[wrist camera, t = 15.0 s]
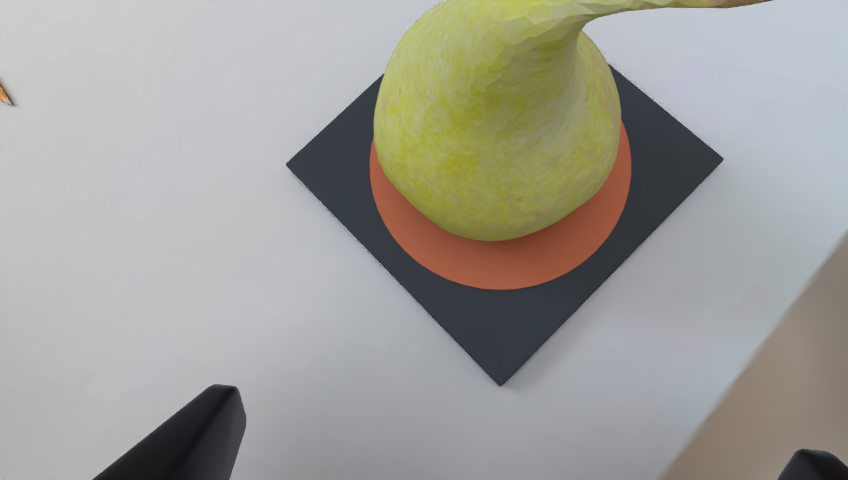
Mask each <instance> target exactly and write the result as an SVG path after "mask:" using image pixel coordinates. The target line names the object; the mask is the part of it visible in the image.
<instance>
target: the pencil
mask: <svg viewBox="0 0 848 480" xmlns="http://www.w3.org/2000/svg"><path fill="white" fill-rule="evenodd" d="M0 100H1V101H3V102H4V103H7V104H9V105H11V103H10V101H9V99H8V97H7V96H6V94H5V93H4V91H3V89H2V88H1V86H0Z"/></svg>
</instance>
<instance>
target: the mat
mask: <svg viewBox="0 0 848 480" xmlns="http://www.w3.org/2000/svg"><path fill="white" fill-rule="evenodd" d="M608 66H609V68H610V70H611V72H612V75H613V78H614V81H615V84H616V87H617V91H618V94H619V100H620V107H621V129H620V137H619V146H618V151H617V156H616V160H615V162H614V165H613V167H612V170H611V172H610V174H609V176H608V178H607V179H606V181H605V182H604V184H603V185H602V187H601V188H600V189H599V190H598V192H597V193H596V194H595V195H594V196H593V197H591V198H590V199H589V200H588V201H587V202H585V203H584V204H582V205H581V206H580V207H578V208H577V209H575V210H574V211H572V212H571V213H569V214H568V215H567V216H565V217H564V218H562V219H561V220H559V221H558V222H556V223H554V224H552V225H550V226H548V227H545V228H543V229H541V230H539V231H536V232H533V233H531V234H528V235H525V236H522V237H518V238H514V239H509V240H502V241H481V240H474V239H469V238H464V237H461V236H458V235H455V234H453V233H450V232H448V231H446V230H444V229H443V228H441V227H440V226H438V225H437V224H435V223H434V222H433V221H431V220H430V219H429V218H427V217H426V216H425V215H424V214H422V213H421V212H420V211H419V210H418V209H416V208H415V207H414V206H413V205H412V204H411V203H410V202H409V201H408V200H407V199H406V198H405V197H404V196H403V195H402V194H401V193H400V192H399V191H398V190H397V189H396V187H395V186H394V185H393V184H392V183H391V182H390V181H389V179H388V178H387V177H386V175H385V173H384V171H383V169H382V167H381V165H380V163H379V160H378V156H377V152H376V149H375V143H374V114H375V108H376V103H377V98H378V94H379V90H380V86H381V82H382V79H383V76H384V74H383V75H382V76H381V77H379V78H378V79H377V80H376V81H375V82H374V83H373V84H372V85H371V86H370V87H369V88H368V89H366V90H365V91H364V92H363V93H362V94H361V95H360V96H359V97H358V98H357V99H356V100H355V101H353V102H352V103H351V104H350V105H349V106H348V107H347V108H346V109H345V110H344V111H343V112H342V113H340V114H339V115H338V116H337V117H336V118H335V119H334V120H333V121H332V122H331V123H330V124H329V125H327V126H326V127H325V128H324V129H323V130H322V131H321V132H320V133H319V134H318V135H317V136H316V137H315V138H313V139H312V140H311V141H310V142H309V143H308V144H307V145H306V146H305V147H304V148H303V149H302V150H300V151H299V152H298V153H297V154H296V155H295V156H294V157H293V158H292V159H291V160H290V161H289V162H287V164H286V165H287V167H288V168H289V169H290V170H291V171H292V172H293V173H294V174H295V175H296V176H297V177H298V178H299V179H300V180H301V181H302V182H303V183H304V184H305V185H306V186H307V187H308V188H309V190H310V191H311V192H312V193H313V194H314V195H315V196H316V197H317V198H318V199H319V200H320V201H321V202H322V203H323V204H324V205H325V206H326V207H327V208H328V209H329V210H330V211H331V212H332V213H333V214H334V215H335V216H336V217H337V218H338V220H339V221H340V222H341V223H342V224H343V225H344V226H345V227H346V228H347V229H348V230H349V231H350V232H351V233H352V234H353V235H354V236H355V237H356V238H357V239H358V240H359V241H360V242H361V243H362V244H363V245H364V246H365V247H366V248H367V250H368V251H369V252H370V253H371V254H372V255H373V256H374V257H375V258H376V259H377V260H378V261H379V262H380V263H381V264H382V265H383V266H384V267H385V268H386V269H387V270H388V271H389V272H390V273H391V274H392V275H393V276H394V277H395V278H396V280H397V281H398V282H399V283H400V284H401V285H402V286H403V287H404V288H405V289H406V290H407V291H408V292H409V293H410V294H411V295H412V296H413V297H414V298H415V299H416V300H417V301H418V302H419V303H420V304H421V305H422V306H423V307H424V308H425V310H426V311H427V312H428V313H429V314H430V315H431V316H432V317H433V318H434V319H435V320H436V321H437V322H438V323H439V324H440V325H441V326H442V327H443V328H444V329H445V330H446V331H447V332H448V333H449V334H450V335H451V336H452V337H453V338H454V340H455V341H456V342H457V343H458V344H459V345H460V346H461V347H462V348H463V349H464V350H465V351H466V352H467V353H468V354H469V355H470V356H471V357H472V358H473V359H474V360H475V361H476V362H477V363H478V364H479V365H480V366H481V367H482V368H483V370H484V371H485V372H486V373H487V374H488V375H489V376H490V377H491V378H492V379H493V380H494V381H495V382H496V383H497V384H498V385H499V386H502V385H503V384H504V383H505V382H506V381H507V380H508V379H509V378H510V377H511V376H512V375H513V374H514V373H515V372H516V371H517V370H518V369H519V368H520V367H521V366H522V365H523V364H524V363H525V362H526V361H527V360H528V359H529V358H530V357H531V356H532V355H533V354H534V353H535V352H536V351H537V350H538V349H539V348H540V347H541V345H542V344H543V343H544V342H545V341H546V340H547V339H548V338H549V337H550V336H551V335H552V334H553V333H554V332H555V331H556V330H557V329H558V328H559V327H560V326H561V325H562V324H563V323H564V322H565V321H566V320H567V319H568V318H569V317H570V316H571V315H572V314H573V313H574V312H575V311H576V310H577V309H578V308H579V307H580V306H581V305H582V304H583V303H584V302H585V301H586V300H587V299H588V298H589V297H590V296H591V295H592V294H593V292H594V291H595V290H596V289H597V288H598V287H599V286H600V285H601V284H602V283H603V282H604V281H605V280H606V279H607V278H608V277H609V276H610V275H611V274H612V273H613V272H614V271H615V270H616V269H617V268H618V267H619V266H620V265H621V264H622V263H623V262H624V261H625V260H626V259H627V258H628V257H629V256H630V255H631V254H632V253H633V252H634V251H635V250H636V249H637V248H638V247H639V246H640V245H641V244H642V243H643V242H644V240H645V239H646V238H647V237H648V236H649V235H650V234H651V233H652V232H653V231H654V230H655V229H656V228H657V227H658V226H659V225H660V224H661V223H662V222H663V221H664V220H665V219H666V218H667V217H668V216H669V215H670V214H671V213H672V212H673V211H674V210H675V209H676V208H677V207H678V206H679V205H680V204H681V203H682V202H683V201H684V200H685V199H686V198H687V197H688V196H689V195H690V194H691V193H692V192H693V191H694V190H695V189H696V187H697V186H698V185H699V184H700V183H701V182H702V181H703V180H704V179H705V178H706V177H707V176H708V175H709V174H710V173H711V172H712V171H713V170H714V169H715V168H716V167H717V166H718V165H719V164H720V163H721V162H722V161H723V158H722V157H721V156H720V155H719V154H718V153H716V152H715V151H714V150H713V149H711V148H710V147H709V146H708V145H707V144H705V143H704V142H703V141H702V140H701V139H699V138H698V137H697V136H696V135H694V134H693V133H692V132H691V131H690V130H688V129H687V128H686V127H685V126H683V125H682V124H681V123H680V122H679V121H677V120H676V119H675V118H674V117H673V116H671V115H670V114H669V113H668V112H666V111H665V110H664V109H663V108H662V107H660V106H659V105H658V104H657V103H656V102H654V101H653V100H652V99H651V98H649V97H648V96H647V95H646V94H645V93H643V92H642V91H641V90H640V89H638V88H637V87H636V86H635V85H634V84H632V83H631V82H630V81H629V80H628V79H626V78H625V77H624V76H623V75H621V74H620V73H619V72H618V71H617V70H615V69H614V68H613V67H612V66H611V65H609V64H608Z"/></svg>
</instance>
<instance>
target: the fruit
mask: <svg viewBox="0 0 848 480" xmlns="http://www.w3.org/2000/svg"><path fill="white" fill-rule="evenodd" d="M767 1H772V0H446V1H443V2H441V3H439V4H438V5H436V6H434V7H433V8H432V9H430V10H429V11H428V12H426V13H425V14H424V15H423V16H422V17H421V18H420V19H419V20H418V21H416V22H415V23H414V24H413V26H412V27H411V28H410V29H409V30H408V31H407V32H406V34H405V35H404V36H403V37H402V39H401V40H400V42H399V43H398V45H397V47H396V48H395V50H394V52H393V54H392V56H391V58H390V61H389V63H388V65H387V68H386V70H385V73H384V76H383V79H382V82H381V86H380V90H379V94H378V98H377V103H376V108H375V114H374V143H375V149H376V152H377V156H378V160H379V163H380V165H381V167H382V169H383V171H384V173H385V175H386V177H387V178H388V179H389V181H390V182H391V183H392V184H393V185H394V186H395V187H396V189H397V190H398V191H399V192H400V193H401V194H402V195H403V196H404V197H405V198H406V199H407V200H408V201H409V202H410V203H411V204H412V205H413V206H414V207H415V208H416V209H418V210H419V211H420V212H421V213H422V214H424V215H425V216H426V217H427V218H429V219H430V220H431V221H433V222H434V223H435V224H437V225H438V226H440V227H441V228H443V229H444V230H446V231H448V232H450V233H453V234H455V235H458V236H461V237H464V238H469V239H474V240H481V241H502V240H509V239H514V238H518V237H522V236H525V235H528V234H531V233H533V232H536V231H539V230H541V229H543V228H545V227H548V226H550V225H552V224H554V223H556V222H558V221H559V220H561V219H562V218H564V217H565V216H567V215H568V214H569V213H571V212H572V211H574V210H575V209H577V208H578V207H580V206H581V205H582V204H584V203H585V202H587V201H588V200H589V199H590V198H591V197H593V196H594V195H595V194H596V193H597V192H598V190H599V189H600V188H601V187H602V185H603V184H604V182H605V181H606V179H607V178H608V176H609V174H610V172H611V170H612V167H613V165H614V162H615V160H616V156H617V151H618V146H619V137H620V129H621V107H620V100H619V94H618V91H617V87H616V84H615V81H614V78H613V75H612V72H611V70H610V68H609V66H608V63H607V61H606V60H605V58H604V56H603V55H602V53H601V52H600V50H599V49H598V47H597V46H596V45H595V44H594V42H593V41H592V40H591V39H590V38H589V37H588V36H587V35H586V34H585V33H584V32H583V31H582V29H583V27H584V26H585V24H586V23H588V22H590V21H592V20H594V19H595V18H598V17H602V16H607V15H611V14H615V13H620V12H625V11H634V10H645V9H655V8H666V7H672V8H731V7H738V6H745V5H752V4H757V3H762V2H767Z"/></svg>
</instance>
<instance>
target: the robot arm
mask: <svg viewBox="0 0 848 480" xmlns="http://www.w3.org/2000/svg"><path fill="white" fill-rule="evenodd" d="M245 427H246V414H245V411H244V407H243V403H242V400H241V396H240V392H239V390H238V389H237V388H236V387H235V386H230V385H220V384H215V385H212V386H210V387H208V388H207V389H206V390H204V391H203V392H202V393H201V394H199V395H198V396H197V397H196V398H194V399H193V400H192V401H191V402H189V403H188V404H187V405H186V406H184V407H183V408H182V409H181V410H179V411H178V412H177V413H175V414H174V415H173V416H172V417H170V418H169V419H168V420H167V421H165V422H164V423H163V424H162V425H160V426H159V427H158V428H157V429H155V430H154V431H153V432H152V433H150V434H149V435H148V436H147V437H145V438H144V439H143V440H142V441H140V442H139V443H138V444H137V445H135V446H134V447H133V448H132V449H130V450H129V451H128V452H126V453H125V454H124V455H123V456H121V457H120V458H119V459H118V460H116V461H115V462H114V463H113V464H111V465H110V466H109V467H108V468H106V469H105V470H104V471H103V472H101V473H100V474H99V475H98V476H96V477H95V478H94V479H93V480H229V479H230V476H231V472H232V469H233V466H234V463H235V460H236V457H237V454H238V450H239V447H240V444H241V441H242V438H243V435H244V431H245ZM778 480H848V467H847V466H846V465H845V464H844V463H842V461H840V460H839V459H838V458H837V457H836V456H834V455H833V454H831V453H829V452H825V451H818V450H810V449H800V450H798V451H796V452H795V453H794V455H793V456H792V458H791V459H790V461H789V463H788V464H787V466H786V467H785V468H784V470H783V471H782V473H781V474H780V476H779V478H778Z"/></svg>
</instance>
